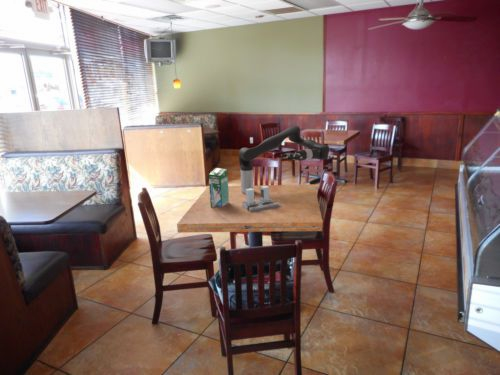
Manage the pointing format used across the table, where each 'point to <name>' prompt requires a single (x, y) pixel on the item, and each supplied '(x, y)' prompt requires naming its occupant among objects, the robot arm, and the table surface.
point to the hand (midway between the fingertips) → (284, 157)
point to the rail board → (260, 205)
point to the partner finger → (250, 196)
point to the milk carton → (218, 187)
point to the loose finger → (264, 193)
